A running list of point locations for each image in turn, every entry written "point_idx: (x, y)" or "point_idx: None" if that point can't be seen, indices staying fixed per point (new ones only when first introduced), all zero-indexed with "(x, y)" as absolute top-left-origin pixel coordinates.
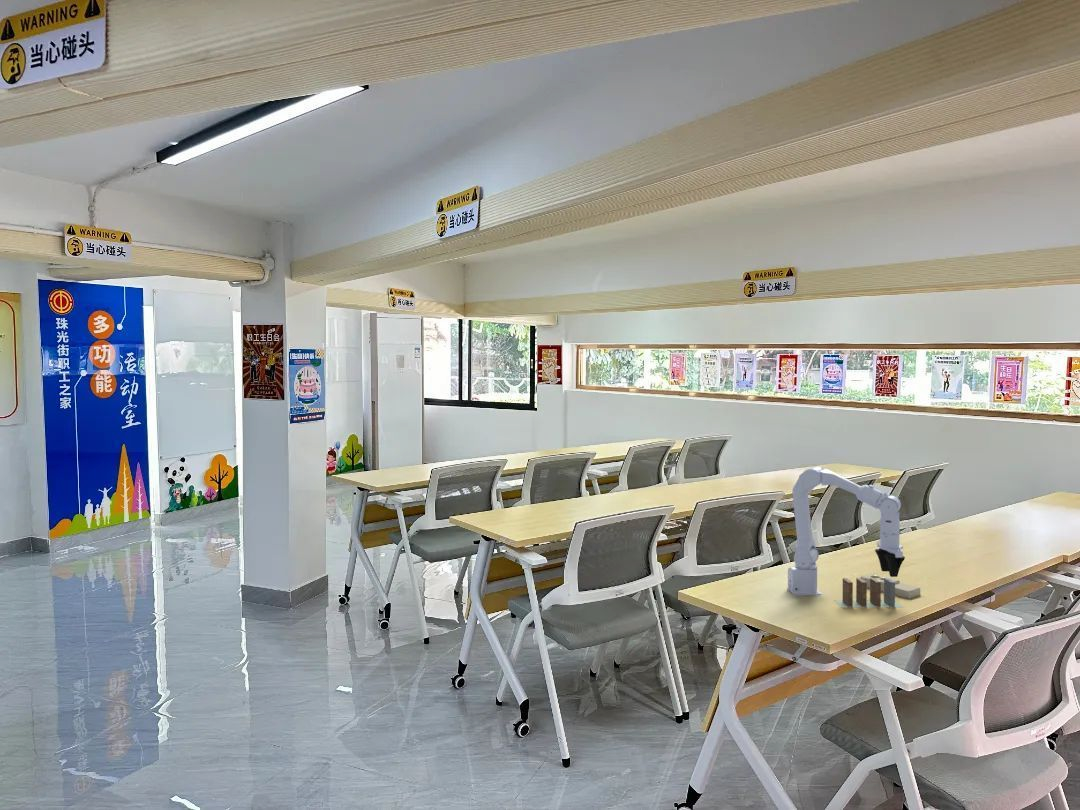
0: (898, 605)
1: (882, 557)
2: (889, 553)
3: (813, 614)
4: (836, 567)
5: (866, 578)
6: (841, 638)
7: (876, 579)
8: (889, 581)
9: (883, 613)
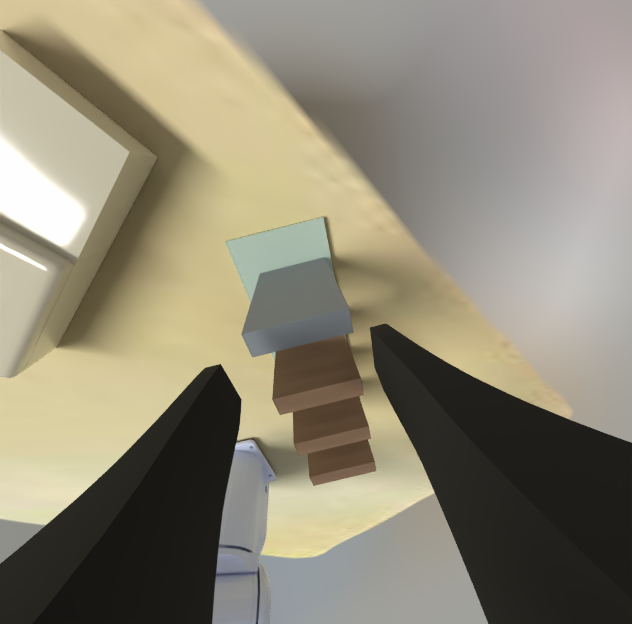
0: (305, 238)
1: (197, 563)
2: None
3: (409, 441)
4: None
5: (21, 357)
6: (559, 400)
7: (302, 392)
8: (332, 336)
9: (398, 305)
